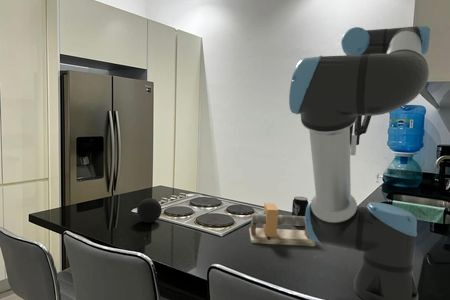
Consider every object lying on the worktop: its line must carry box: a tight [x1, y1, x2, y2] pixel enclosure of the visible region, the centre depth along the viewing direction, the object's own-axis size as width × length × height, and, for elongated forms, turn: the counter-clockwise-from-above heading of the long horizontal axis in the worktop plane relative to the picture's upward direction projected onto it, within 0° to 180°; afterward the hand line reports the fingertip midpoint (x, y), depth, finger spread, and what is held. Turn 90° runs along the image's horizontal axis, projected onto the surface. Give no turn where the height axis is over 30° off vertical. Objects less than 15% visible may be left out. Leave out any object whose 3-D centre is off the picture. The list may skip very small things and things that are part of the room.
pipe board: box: [248, 213, 316, 247], centre depth 126 cm, size 23×14×9 cm, turn 89°
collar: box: [262, 202, 279, 237], centre depth 126 cm, size 4×10×10 cm, turn 179°
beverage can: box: [291, 196, 309, 228], centre depth 144 cm, size 7×7×12 cm
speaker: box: [136, 197, 163, 224], centre depth 137 cm, size 10×10×10 cm
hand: (351, 154), depth 109 cm, fingers closed
